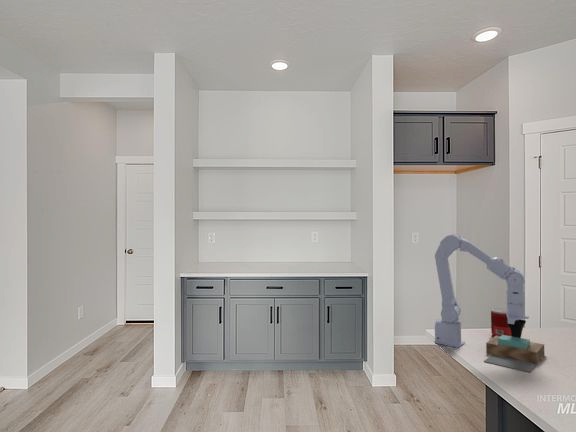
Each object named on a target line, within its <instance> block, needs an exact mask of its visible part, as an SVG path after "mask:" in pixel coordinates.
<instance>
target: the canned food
mask: <svg viewBox="0 0 576 432" xmlns="http://www.w3.org/2000/svg"><path fill="white" fill-rule="evenodd" d="M506 320H508V318H507V308H506V309H505V308H492V309H491V310H490V327H491V329H490V331H491V335H492V336H493V338H494V337H495V336H502V335H506V336H512V334H511V330H510V328H509V326H508V324H507V322H506Z"/></svg>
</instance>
